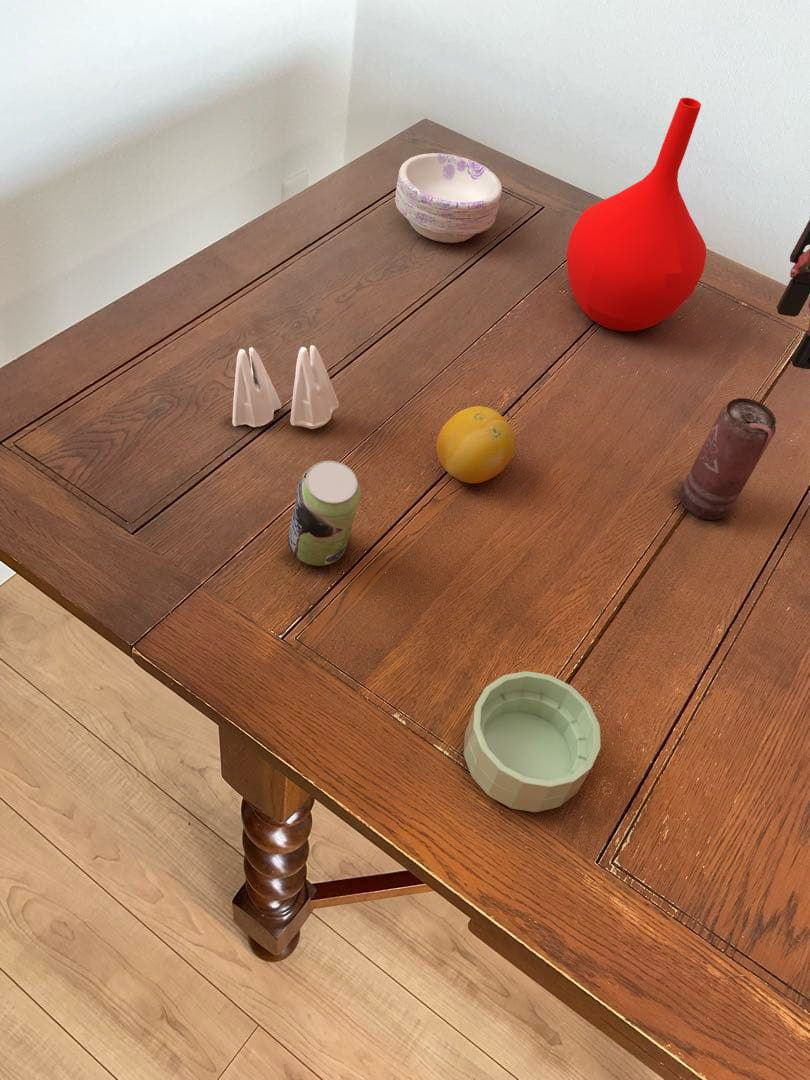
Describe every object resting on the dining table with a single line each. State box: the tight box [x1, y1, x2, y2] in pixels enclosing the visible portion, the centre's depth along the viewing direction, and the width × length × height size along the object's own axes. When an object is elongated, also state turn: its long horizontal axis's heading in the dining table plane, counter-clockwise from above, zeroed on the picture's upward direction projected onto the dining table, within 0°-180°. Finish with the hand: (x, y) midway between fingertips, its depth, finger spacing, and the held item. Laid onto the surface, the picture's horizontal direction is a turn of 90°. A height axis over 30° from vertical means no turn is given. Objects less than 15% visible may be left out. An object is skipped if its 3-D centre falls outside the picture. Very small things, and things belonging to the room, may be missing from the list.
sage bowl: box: [463, 670, 601, 813], centre depth 86 cm, size 11×11×6 cm
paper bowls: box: [394, 152, 503, 244], centre depth 142 cm, size 15×15×8 cm
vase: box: [566, 97, 707, 333], centre depth 126 cm, size 18×18×30 cm
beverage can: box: [287, 460, 362, 567], centre depth 96 cm, size 6×7×12 cm
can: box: [679, 397, 777, 521], centre depth 108 cm, size 6×6×14 cm
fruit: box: [435, 405, 516, 484], centre depth 109 cm, size 9×8×8 cm
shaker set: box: [231, 344, 340, 430], centre depth 109 cm, size 12×4×11 cm, turn 89°
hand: (793, 338), depth 95 cm, fingers open, 8 cm apart
